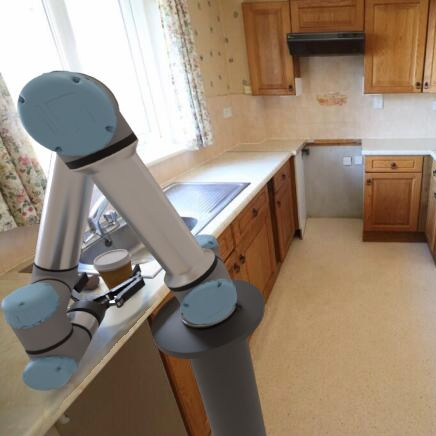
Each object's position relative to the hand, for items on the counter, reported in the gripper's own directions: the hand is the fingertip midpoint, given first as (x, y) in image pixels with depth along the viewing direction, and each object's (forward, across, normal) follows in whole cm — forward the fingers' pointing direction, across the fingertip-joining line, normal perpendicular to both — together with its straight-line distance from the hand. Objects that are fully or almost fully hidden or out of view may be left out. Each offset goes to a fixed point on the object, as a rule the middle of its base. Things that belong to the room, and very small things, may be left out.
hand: (112, 271), depth 92 cm
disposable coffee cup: (+3, 0, -9) cm, 9 cm away
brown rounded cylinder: (+10, -15, -9) cm, 20 cm away
